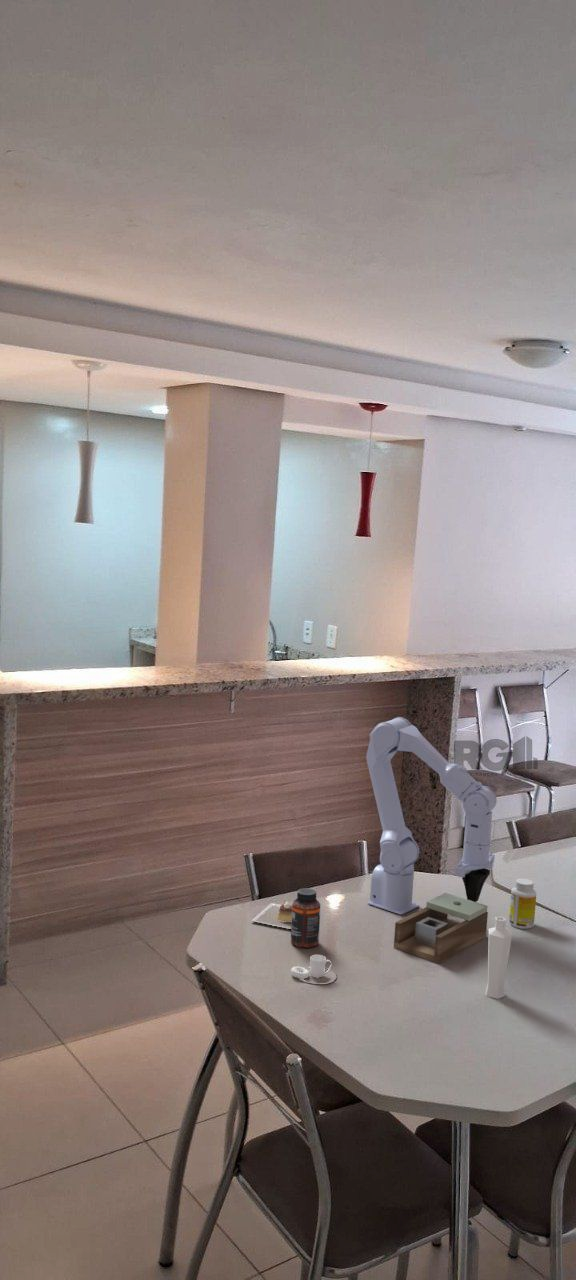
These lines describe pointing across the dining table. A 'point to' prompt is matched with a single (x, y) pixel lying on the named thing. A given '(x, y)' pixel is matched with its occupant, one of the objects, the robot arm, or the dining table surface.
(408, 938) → the housing
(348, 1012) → the dining table surface
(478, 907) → the cover
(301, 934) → the supplement bottle
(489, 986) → the perfume bottle
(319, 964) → the teacup and saucer
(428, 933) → the grey hollow square block
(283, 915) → the dessert
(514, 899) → the supplement bottle
